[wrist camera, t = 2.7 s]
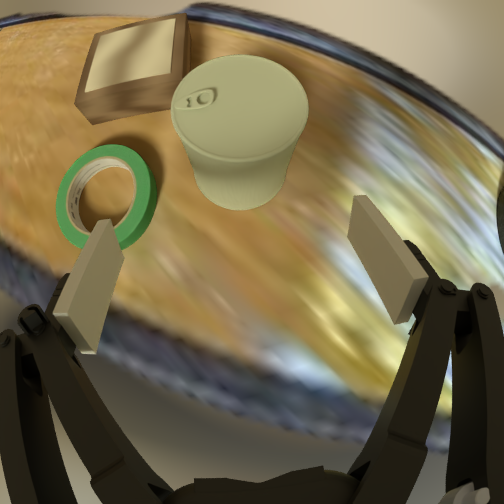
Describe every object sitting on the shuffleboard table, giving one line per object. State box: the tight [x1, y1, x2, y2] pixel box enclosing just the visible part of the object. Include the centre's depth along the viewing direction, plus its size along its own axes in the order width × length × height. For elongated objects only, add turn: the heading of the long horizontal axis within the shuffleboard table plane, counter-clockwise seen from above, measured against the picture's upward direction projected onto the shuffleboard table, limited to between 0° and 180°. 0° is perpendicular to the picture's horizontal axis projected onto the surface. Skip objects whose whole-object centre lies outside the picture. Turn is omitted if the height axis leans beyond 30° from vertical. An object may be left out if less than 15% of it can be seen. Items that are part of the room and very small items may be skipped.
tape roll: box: [56, 144, 157, 250], centre depth 27 cm, size 11×11×3 cm
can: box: [171, 54, 309, 210], centre depth 23 cm, size 9×9×12 cm
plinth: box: [74, 13, 191, 125], centre depth 27 cm, size 12×12×5 cm
